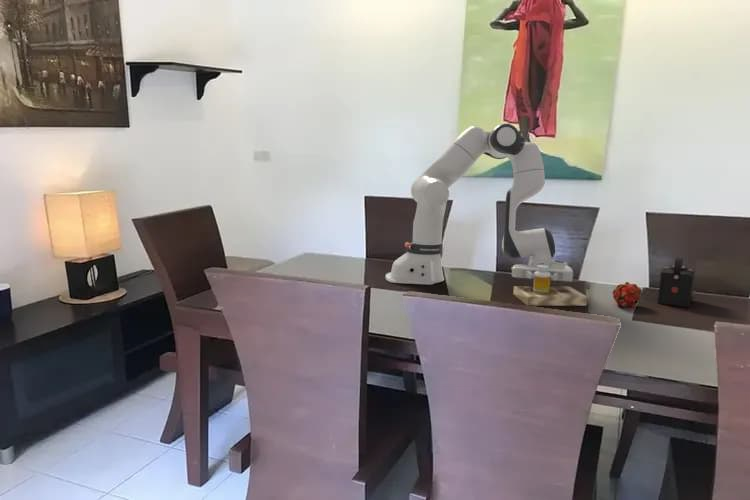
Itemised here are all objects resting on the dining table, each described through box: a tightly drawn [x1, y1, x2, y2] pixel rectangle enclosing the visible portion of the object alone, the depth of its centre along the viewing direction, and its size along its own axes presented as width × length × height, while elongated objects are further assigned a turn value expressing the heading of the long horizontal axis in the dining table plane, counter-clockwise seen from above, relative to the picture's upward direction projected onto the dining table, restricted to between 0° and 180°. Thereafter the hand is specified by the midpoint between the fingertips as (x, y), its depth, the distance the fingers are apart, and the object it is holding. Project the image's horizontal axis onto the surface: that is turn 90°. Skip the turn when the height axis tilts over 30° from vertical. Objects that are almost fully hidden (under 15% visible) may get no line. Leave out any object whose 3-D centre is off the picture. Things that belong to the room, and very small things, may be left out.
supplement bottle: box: [533, 265, 551, 294], centre depth 190 cm, size 5×5×10 cm
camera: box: [657, 257, 696, 308], centre depth 192 cm, size 11×14×15 cm
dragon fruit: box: [612, 281, 643, 308], centre depth 185 cm, size 8×8×12 cm
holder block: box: [512, 285, 588, 307], centre depth 191 cm, size 20×14×3 cm
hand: (542, 277), depth 189 cm, fingers closed on supplement bottle, 5 cm apart
